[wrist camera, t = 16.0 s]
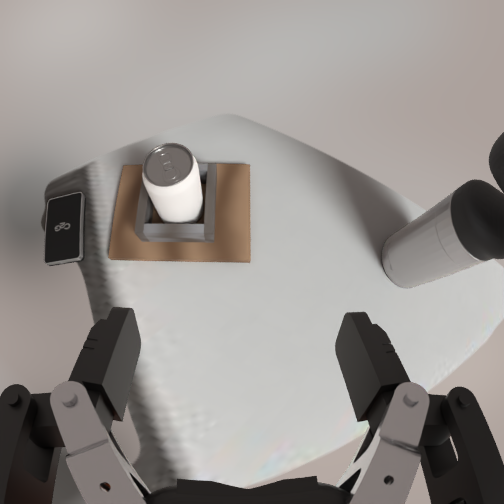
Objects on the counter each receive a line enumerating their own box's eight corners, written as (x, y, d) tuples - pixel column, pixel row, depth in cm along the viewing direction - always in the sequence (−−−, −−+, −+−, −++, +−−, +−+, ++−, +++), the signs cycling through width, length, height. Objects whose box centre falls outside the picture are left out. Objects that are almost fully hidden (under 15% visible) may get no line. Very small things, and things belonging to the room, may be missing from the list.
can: (167, 237, 40) (147, 199, 29) (153, 198, 42) (133, 152, 30) (210, 220, 41) (206, 176, 30) (195, 182, 43) (187, 132, 31)
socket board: (249, 168, 46) (252, 150, 41) (249, 262, 41) (253, 252, 37) (125, 169, 44) (116, 152, 39) (111, 259, 40) (98, 250, 35)
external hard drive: (87, 196, 42) (82, 191, 40) (86, 262, 40) (80, 259, 38) (53, 204, 41) (47, 199, 40) (50, 268, 39) (43, 265, 37)
